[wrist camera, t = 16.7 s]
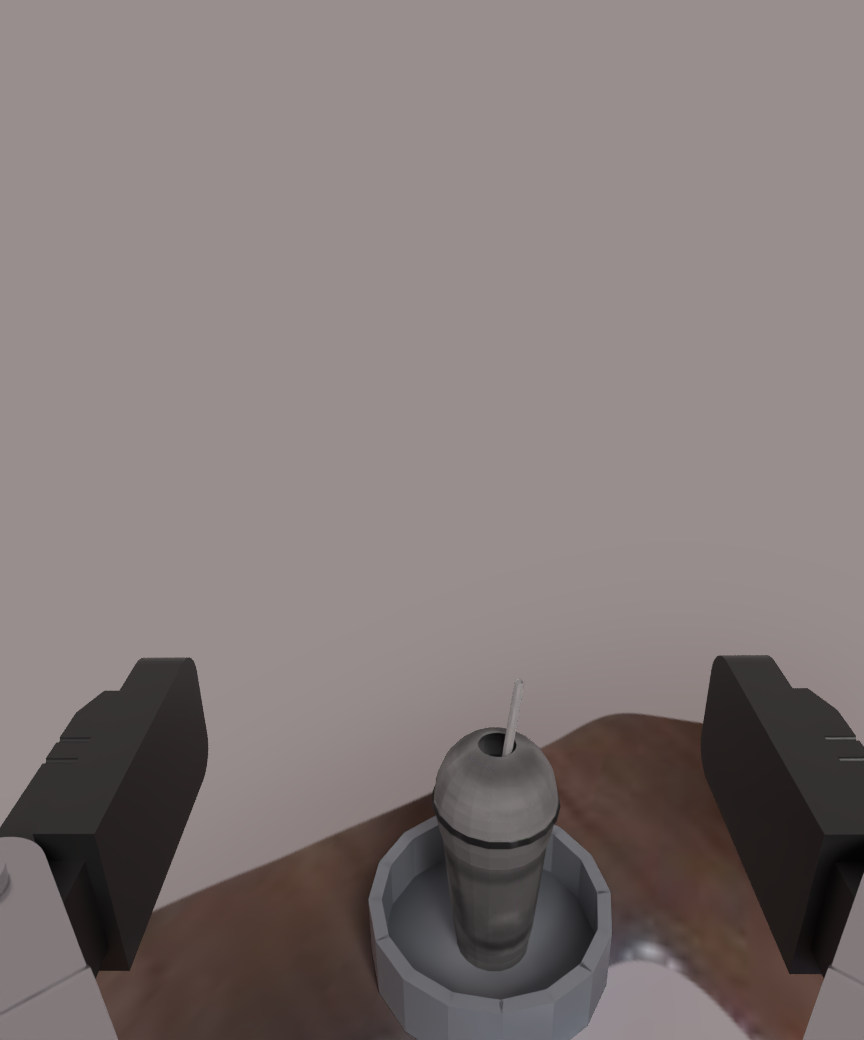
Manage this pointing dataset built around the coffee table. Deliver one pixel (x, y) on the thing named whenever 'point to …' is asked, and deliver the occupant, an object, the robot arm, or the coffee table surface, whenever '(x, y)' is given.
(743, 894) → the coffee table surface
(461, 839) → the beverage cup
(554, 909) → the bowl
